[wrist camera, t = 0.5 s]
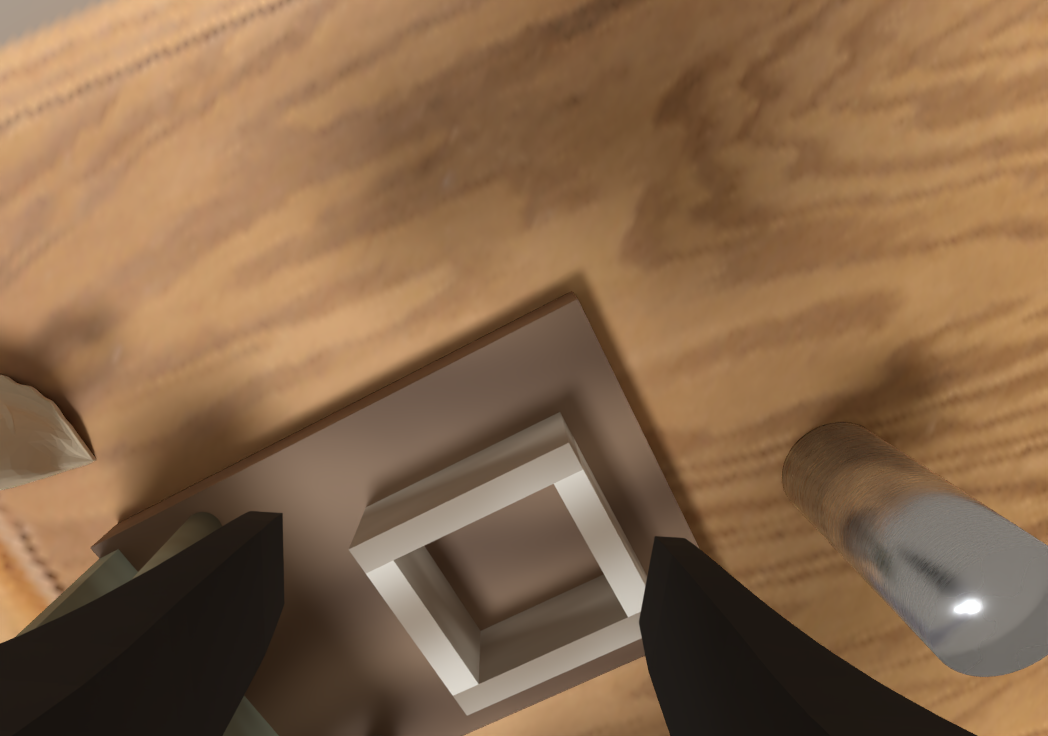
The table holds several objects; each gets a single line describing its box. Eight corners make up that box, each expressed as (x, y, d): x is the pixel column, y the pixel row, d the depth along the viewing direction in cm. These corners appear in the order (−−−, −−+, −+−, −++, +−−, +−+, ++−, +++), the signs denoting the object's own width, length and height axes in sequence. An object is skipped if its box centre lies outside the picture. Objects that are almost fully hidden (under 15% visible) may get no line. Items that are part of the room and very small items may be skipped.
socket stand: (718, 591, 24) (877, 877, 14) (323, 767, 26) (213, 1132, 16) (571, 291, 20) (647, 391, 10) (116, 524, 22) (-203, 805, 12)
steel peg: (896, 488, 23) (1096, 638, 15) (801, 531, 23) (950, 698, 16) (866, 404, 22) (1067, 521, 14) (767, 451, 22) (911, 588, 14)
